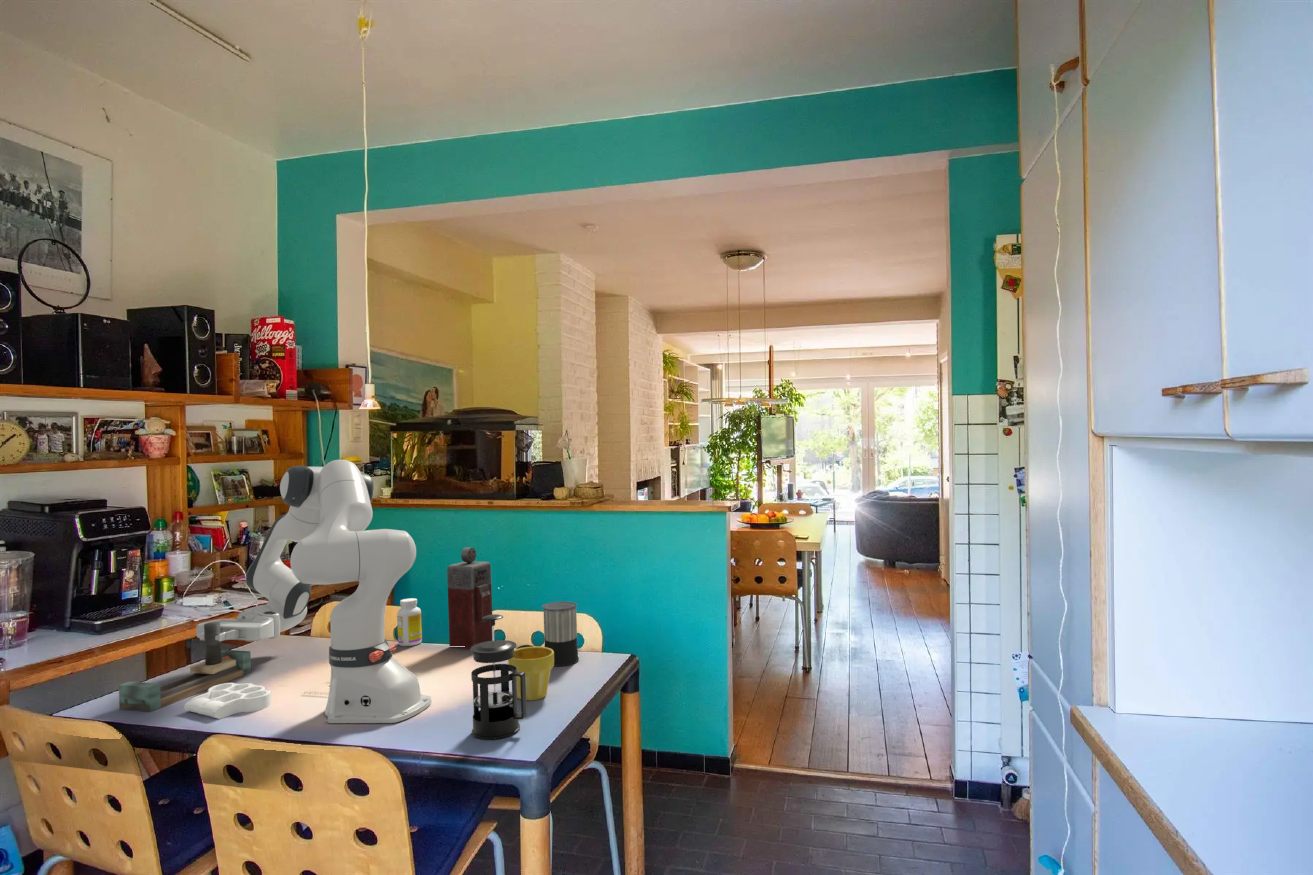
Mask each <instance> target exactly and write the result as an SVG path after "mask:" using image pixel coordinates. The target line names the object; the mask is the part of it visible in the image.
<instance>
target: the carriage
mask: <svg viewBox="0 0 1313 875" xmlns="http://www.w3.org/2000/svg"><path fill="white" fill-rule="evenodd" d="M219 633H221V631H220V622H211V623H206V624H204V640H203V641H204V661H203V662H200V663H197V664H195V665H191V666H190V667H189V672H190V673H191V674H194V673H202V674H215V673H217V672H220V671H223V670H225V669H228V668H231V667H234V666H236V660H233V659H221V650H222V641H215V635H216V634H219Z"/></svg>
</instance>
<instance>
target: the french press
mask: <svg viewBox="0 0 1313 875" xmlns="http://www.w3.org/2000/svg"><path fill="white" fill-rule="evenodd" d="M503 618H504V615H501V614H493V613H492V615H487V616H484V617H482V620H488V621H490V624H491V626H492V641H487V642H482V643H478V644H476V645H473V646H472V647H471V650H470V652H471V653H472V657H473V661H474V662H476V663H480V664H487V665H483V666H479V667H477V668H474V669H473V670H472V671H471V672H470V673H471V676H470V677H471V679H470V680H471V682H472V696H473V698H472V700H473V715H472V730H471V735H472V736H473V737H474V738H475V739H477V740H478V739H479V740H483V741H497V740H502V739H506V738H509V737H512V736H514V735H516V734H517V733H518V732H519V731H520V729H521V724H520V722H519V720H524V719H525V718H526V717H527V713H528V712H527V700H526V679H525V672H517V667H516V666H514V665H510V664H508V663H501V662H505V661H508V660H509V659H511V658H513V657H514V650H515V649H516V648H517V643H516V642H514V641H513V640H505V639H504V640H501V639H499V640H495V626H496V621H497V620H498V621H499V620H501V619H503ZM496 671H500V676H496ZM486 672H487V673H488V672H493V677H481V676H479V675H480V674H484V673H486ZM510 672H511V673H510ZM512 672H513V673H512ZM517 676H520V684H521V699H520V705H521V706H520V708H521V709H520V710H521V711H520V712H521V713H520V714H519V710H518V697H517ZM510 681H511V691H512V692H510ZM499 684H500V688H501V689H500V691H497V687H496V686H497V685H499ZM489 685H493V691H492V692H491V691H490V692H489ZM511 705H512V706H511Z"/></svg>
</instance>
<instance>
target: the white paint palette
mask: <svg viewBox="0 0 1313 875" xmlns="http://www.w3.org/2000/svg"><path fill="white" fill-rule="evenodd" d="M271 692H272V691H271V690H267V689H266V688H265V686H263V685H255V684H254V683H235V682H225V683H223V684H219V685H216V686H213V687H211V688H209V689H207V692H204V693H202V694H200V695H197V696H195V697H193V698H190V699H189V700H188V701H187V702H186V703H184V706H183V708H184V711H188V712H191V713H195V714H199V715H202V716H207V717H211V718H213V719H218V720H221V719H223V718H226V717H227V718H228V717H229V716H232V715H235V714H239V713H251V712H258V711H261V710H264V709H267V708H269V707H271V705H272V695H271V694H272V693H271Z"/></svg>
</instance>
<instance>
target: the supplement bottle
mask: <svg viewBox="0 0 1313 875" xmlns="http://www.w3.org/2000/svg"><path fill="white" fill-rule="evenodd" d="M399 602H400V603H399V605H400V609H398V610H397V612H396V620H397V643H398V645H399V646H401V647H413V646H417V645H419V644H421V643H422V642H423V627H422V610H421V608H420V607H418V606H417V604H418V599H417V598H415V597H414V598H411V597H410V598H403V599H400V601H399Z"/></svg>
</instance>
